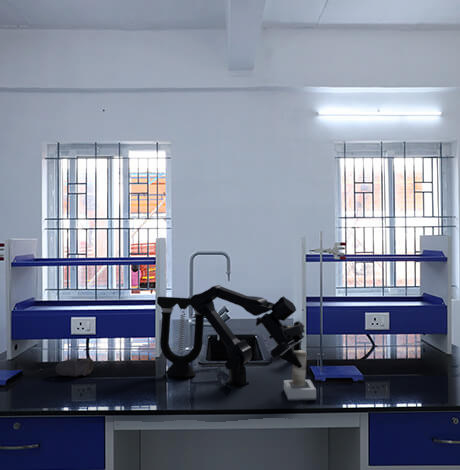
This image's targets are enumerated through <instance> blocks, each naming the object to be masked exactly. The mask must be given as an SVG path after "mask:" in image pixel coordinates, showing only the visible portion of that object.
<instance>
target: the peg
mask: <svg viewBox="0 0 460 470" xmlns="http://www.w3.org/2000/svg"><path fill="white" fill-rule="evenodd" d="M294 353H295V355H296V356H297V358H298V360H299V361H300V363H301V365H302V367H301V368H298V367H297V366H295V365H293V364H292V374H291V375H292V376H291V377H292V379H291V380H292V384H294V385H297V386H303V385H305V380H306V369H307V351H305V350H295V351H294Z"/></svg>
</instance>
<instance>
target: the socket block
mask: <svg viewBox="0 0 460 470" xmlns="http://www.w3.org/2000/svg"><path fill="white" fill-rule="evenodd" d="M283 391H284V393H285V396H286V398H287V401H292V402H293V401H317V388H316V387H315V386H314V384H313V381H311V379H305V385H303V386H297V385H294V384H292V379H284V380H283Z"/></svg>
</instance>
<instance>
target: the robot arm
mask: <svg viewBox="0 0 460 470" xmlns="http://www.w3.org/2000/svg"><path fill="white" fill-rule="evenodd" d="M190 298H191V302H190V304H191V305H190V306H191V308H192V307H193V308H194V309H195V310H196V311H197V312H198V313H199V314H201V315H203V316H204V319H205V318H206V320H207V322H208V323H209V324H210V326H211V327H212V328H213V331H214V332H216V334H217V336H218V337H219V338H220V340H222V342H223V343H224V345H225V346H226V349H227V354H228V356H229V359H228V360H227V361H226V362H225V363H224V365H225V368H226V370H228V380H226V381H225V383H226V384H228V385H230V386H233V387H235V388H238V387H241V386H244V385H248V384H250V381H248V380H247V368H246V365H249V361H251V359H252V357H253V351H252V347H251V346H250V345H249V344H248V343H247V341H246V340H245V339H242V340H240V339H238V337H236V335H235V334H234V332H233V331H232V330H231V329H230V328H229V326H228V325H227V324H226V322H225V320H224V319H223V318H222V317H221V316H220V314H219V313H218V312H217V310H216V308H215V304H214V300H216V299H220V300H224V301H226V302H229V303H231V304H234V305H236V306H240V307H241V308H242V309H244V310H245V311H246V312H247V313H249V314H250V315H252V316H255V317H256V322H255V326H256V327H257V326H260V325H262V326H263V327H264V329H265V330H266V332H268V334H269V336H268V338H269V339H270V340H272V339H273V340H274V342H275V343H276V345H275V347H273V349H271V350H270V356H271V357H272V359H273V360H275V359H277V358H279V359H281V360H284V361H286V362H288V363H289V364H292V366H293V365H295V366H297V367H298V368H301V367H302V365H301V363H300V361H299V360H298V358H297V356H296V355H295V353H294V351H295V350H302V343H303V339H304V338H305V335H303V334H304V333H305V329H304V328H305V325H304V324H303V323H302V322H301V321H299V320H298V321H294V323H293V325H291V326H292V327H289V328H288V327H287V326H288V325H287V324H283V323H282V321H286V320H287V319H289V318H290V317H291V316H292V315H293V314H294V313H295V312H296V311H297V308H296V306H295V304H294V303H293V302H292V301H290V300H289V299H288V298H286V297H285V296H284V295H283V296H281V297H280V298H278V300H277V301H276V302H275V303H273V302H270V301H269V300H267V298H264V297H260V296H253V295H252V296H251V295H245V294H243V293H240V292H237V291H234V290H231V289H229V288H226V287H223V286H221V285H220V284H218V285H212V286H211V287H210V288H208V289H206V290H205V291H203V292H199V293H197V294H193V295H192V296H191V297H190ZM193 308H192V309H193ZM194 309H193V310H194ZM268 312H269V313H268ZM260 315H262V316H261V317H260ZM257 316H258V317H257ZM280 354H281V355H280Z"/></svg>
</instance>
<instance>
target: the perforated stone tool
mask: <svg viewBox="0 0 460 470" xmlns="http://www.w3.org/2000/svg"><path fill="white" fill-rule="evenodd" d="M93 370H94V360H93V358H89V357H88V358H84V357H82V358H80V357H79V358H69V359H65V360H62V361H60V362H59V363H57V364H56V367H55V372H56V374H58V375H60V376H64V377H65V376H66V377H67V376H68V377H74V378H75V377H79V376H82V377H85V376H87V375H90V374H91V373H92V372H93Z"/></svg>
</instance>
